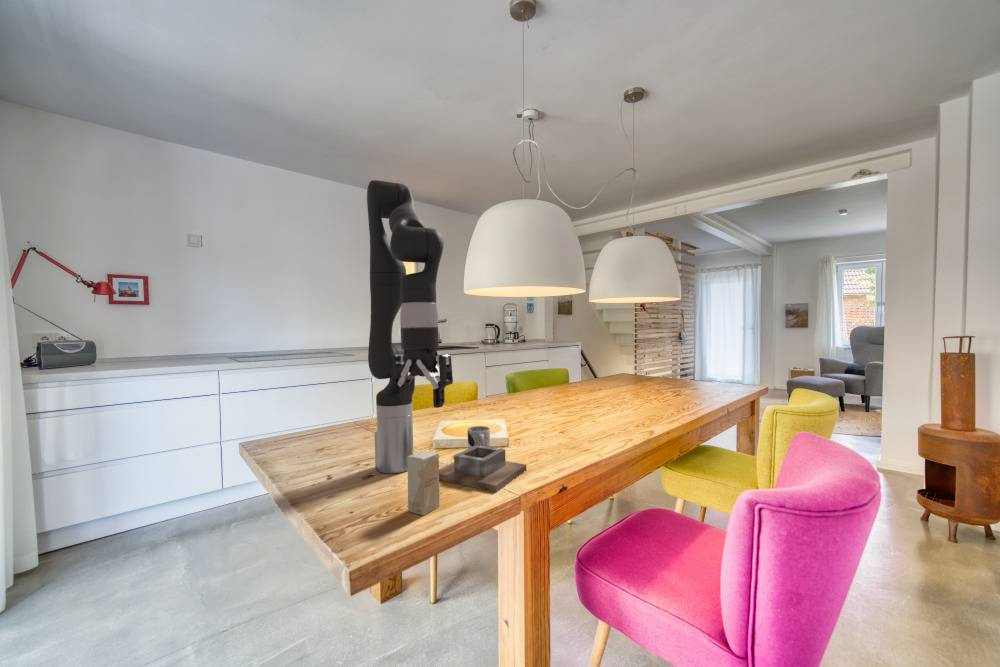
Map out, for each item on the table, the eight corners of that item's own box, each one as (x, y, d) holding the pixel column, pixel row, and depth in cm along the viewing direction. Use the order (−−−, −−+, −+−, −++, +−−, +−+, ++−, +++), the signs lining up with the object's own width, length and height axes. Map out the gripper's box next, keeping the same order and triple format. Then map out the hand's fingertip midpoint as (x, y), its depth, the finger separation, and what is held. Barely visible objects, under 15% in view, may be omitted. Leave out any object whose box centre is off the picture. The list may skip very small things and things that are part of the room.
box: (423, 516, 76) (421, 459, 76) (407, 511, 78) (405, 456, 78) (440, 505, 80) (439, 452, 80) (425, 501, 82) (424, 449, 82)
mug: (466, 448, 119) (466, 427, 119) (487, 446, 121) (487, 425, 121) (471, 458, 109) (471, 435, 109) (494, 456, 111) (494, 433, 111)
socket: (433, 478, 95) (432, 456, 95) (468, 460, 108) (467, 440, 108) (496, 492, 86) (495, 467, 86) (526, 470, 99) (525, 448, 99)
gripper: (459, 324, 79) (461, 405, 79) (406, 327, 86) (408, 400, 86) (434, 324, 72) (437, 412, 72) (380, 327, 79) (382, 406, 79)
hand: (421, 405), depth 79 cm, fingers open, 8 cm apart
